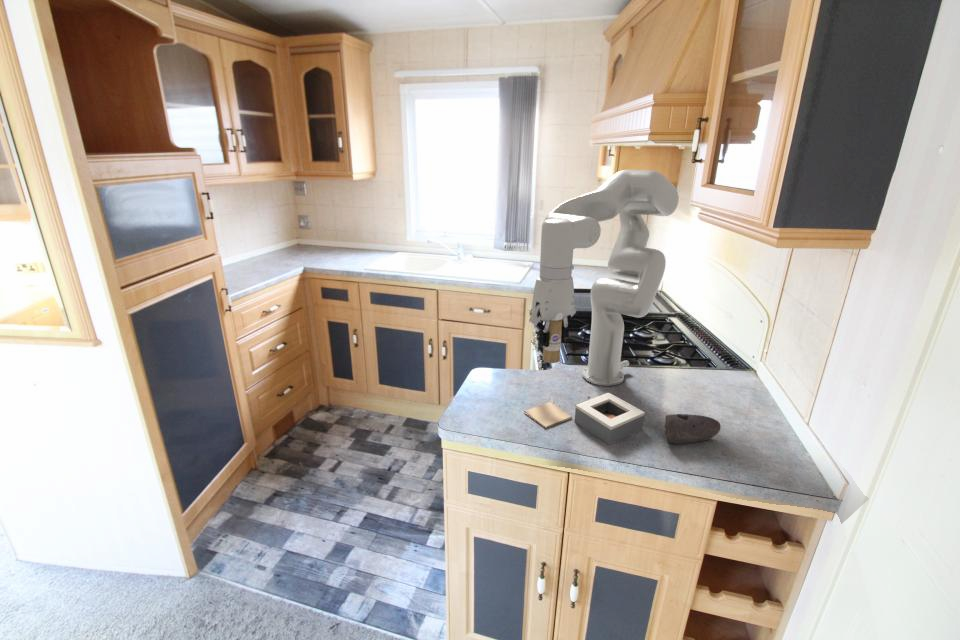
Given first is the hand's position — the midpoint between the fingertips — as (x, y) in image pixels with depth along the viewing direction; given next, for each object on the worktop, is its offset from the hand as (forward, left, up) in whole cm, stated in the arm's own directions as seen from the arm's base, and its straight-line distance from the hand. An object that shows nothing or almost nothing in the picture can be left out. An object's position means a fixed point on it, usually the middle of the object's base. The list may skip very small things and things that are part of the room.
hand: (551, 342), depth 115 cm
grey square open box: (-10, +12, -21) cm, 26 cm away
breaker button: (-10, +12, -21) cm, 26 cm away
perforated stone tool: (-22, +27, -22) cm, 41 cm away
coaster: (0, 0, -21) cm, 21 cm away
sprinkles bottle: (0, 0, -5) cm, 5 cm away
